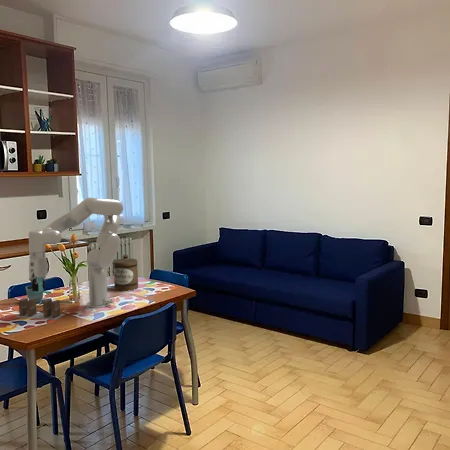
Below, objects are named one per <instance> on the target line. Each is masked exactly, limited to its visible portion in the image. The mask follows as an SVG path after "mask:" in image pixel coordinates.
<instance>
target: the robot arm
mask: <svg viewBox="0 0 450 450" xmlns="http://www.w3.org/2000/svg"><path fill="white" fill-rule="evenodd" d="M123 212H124V205H123V203H122V202H121V201H120V200H117V199H110V198H109V199H108V198H107V199H106V198H105V199H104V198H98V197H86V198H84V199H83V200H82V201H81V202H79V204H77V205H76V206H75V207H73V208H72V209H71V210H70V211H68V212H67V213H65V214H63V215H62V216H60V217H58V218H57V219H55V220H53V221H52V222H51V223H49V224H48V225H47V226H46V227H44V228H43V229H42V230H30V231H29V232H28V248H29V249H28V250H29V251H28V252H29V264H28V276H29V277H28V280H29V281H30V283H31V286H32V291H39V287H38V278H40V277H43V290H44V289H45V288H46V287H45V286H46V285H45V284H46V282H45V281H46V276H47V275H48V271H49V270H48V261H47V257H46V245H57V244H59V243H61V241H62V239H63V236H62V232H65V231H66V230H68V229H72V228H75V227H79V225H81V224H82V223H83V222H84V221H86V219H88V218H89V217H91V216H92V215H99V216H104V221H103V224H102V226H101V229H100V231H99V232H98V236H97V237H96V244H97V246H99V247H100V249H98V248H95V249H91V250H90V251H89V252H88V253H87V255H86V263H87V268H88V269H87V270H88V293H89V301H88V302H87V303H86V306H87V308H90V309H101V308H107V307H109V306H110V305H111V304H114V302H115V301H114V298H110V296H108V288H107V287H108V284H107V283H108V279H107V277H108V276H107V275H108V274H107V269H108V268H110V267H111V266H112V265H113V264H114V261H115V260H116V259H115V258H116V255H117V253H118V252H119V249H120V246H121V239H120V238H121V237H120V236H119V235H118V234H117V232H118V230H119V227H120V222H121V220H120V219H121V218H120V215H121V214H122V213H123ZM35 279H36V281H35Z"/></svg>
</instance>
